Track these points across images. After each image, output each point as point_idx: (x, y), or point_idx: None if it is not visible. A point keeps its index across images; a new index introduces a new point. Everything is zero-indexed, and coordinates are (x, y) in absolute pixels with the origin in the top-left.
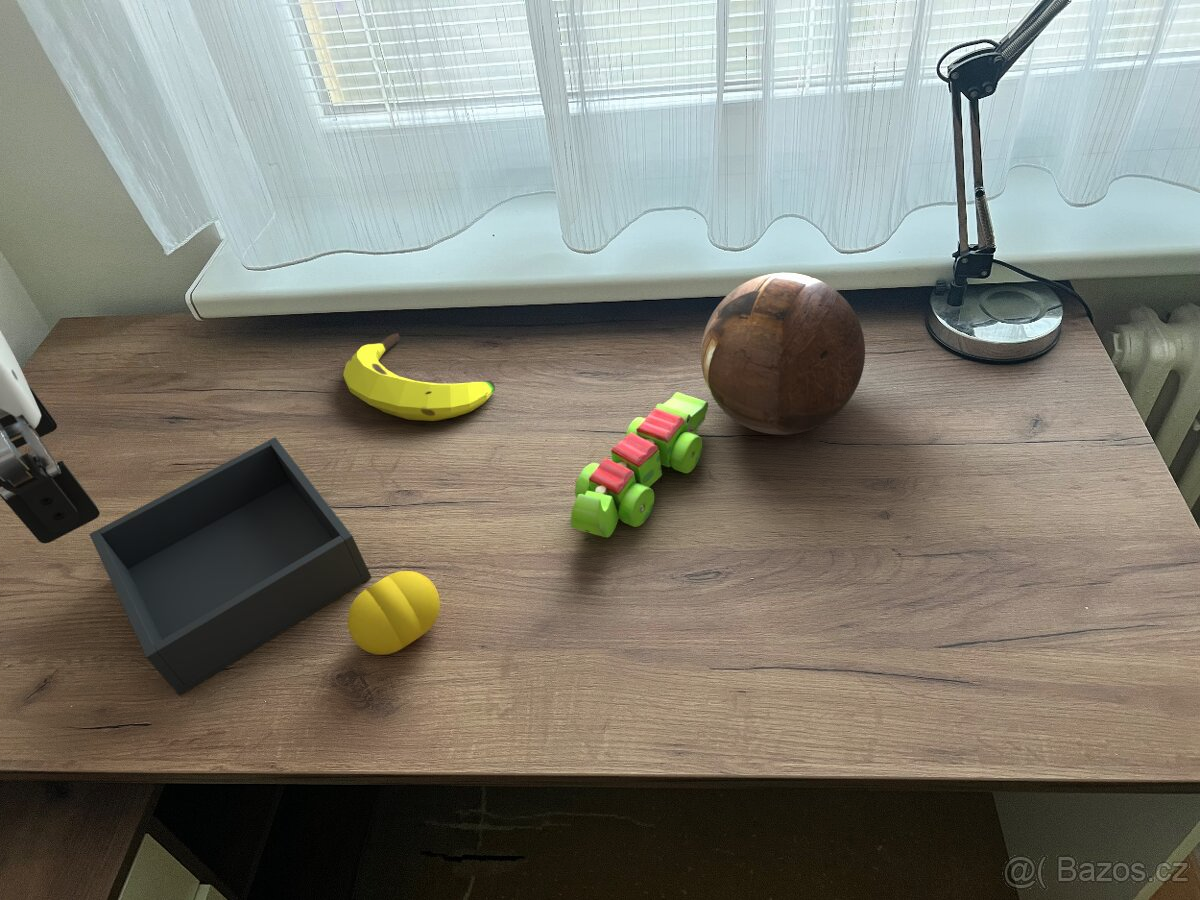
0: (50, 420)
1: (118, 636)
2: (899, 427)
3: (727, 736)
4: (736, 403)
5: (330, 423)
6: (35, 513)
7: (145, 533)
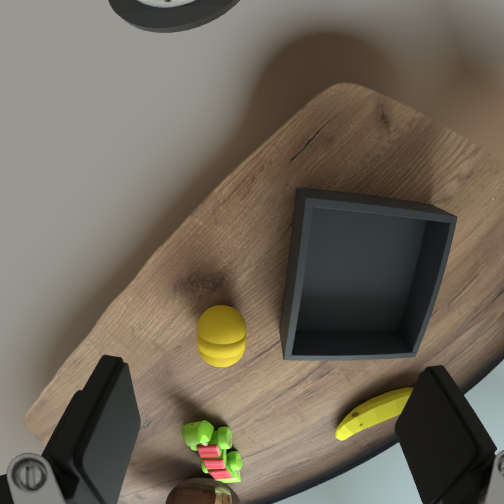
0: (399, 442)
1: (383, 177)
2: (166, 488)
3: (73, 376)
4: (193, 493)
5: (414, 364)
6: (59, 424)
7: (434, 242)
